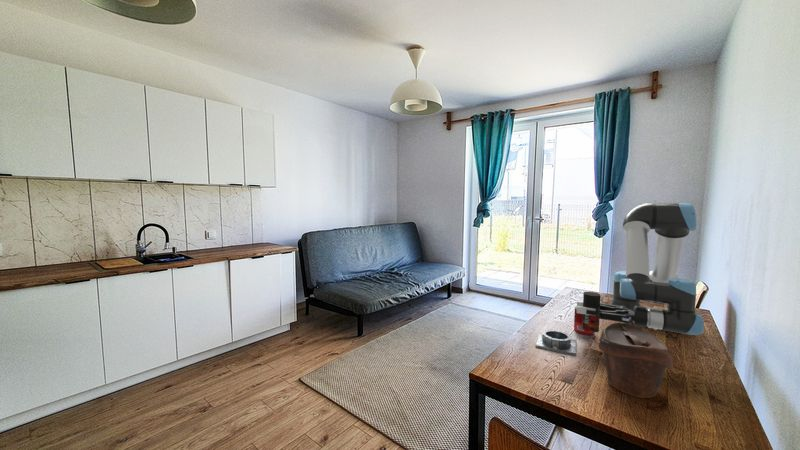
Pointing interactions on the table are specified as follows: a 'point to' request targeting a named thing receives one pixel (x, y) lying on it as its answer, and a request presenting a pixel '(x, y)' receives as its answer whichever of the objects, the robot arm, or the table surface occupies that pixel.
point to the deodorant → (590, 321)
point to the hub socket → (556, 342)
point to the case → (634, 359)
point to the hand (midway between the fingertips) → (576, 307)
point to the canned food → (579, 323)
